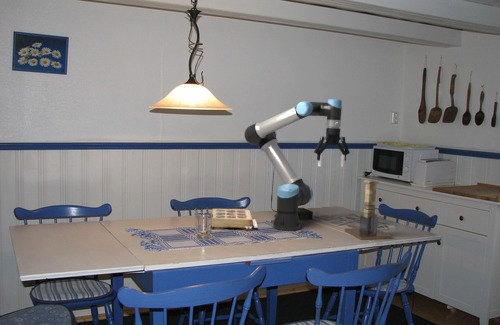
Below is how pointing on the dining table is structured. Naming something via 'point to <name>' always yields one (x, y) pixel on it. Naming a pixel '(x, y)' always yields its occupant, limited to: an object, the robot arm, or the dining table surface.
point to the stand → (368, 229)
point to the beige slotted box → (232, 219)
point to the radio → (299, 210)
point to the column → (370, 198)
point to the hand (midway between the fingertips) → (331, 166)
